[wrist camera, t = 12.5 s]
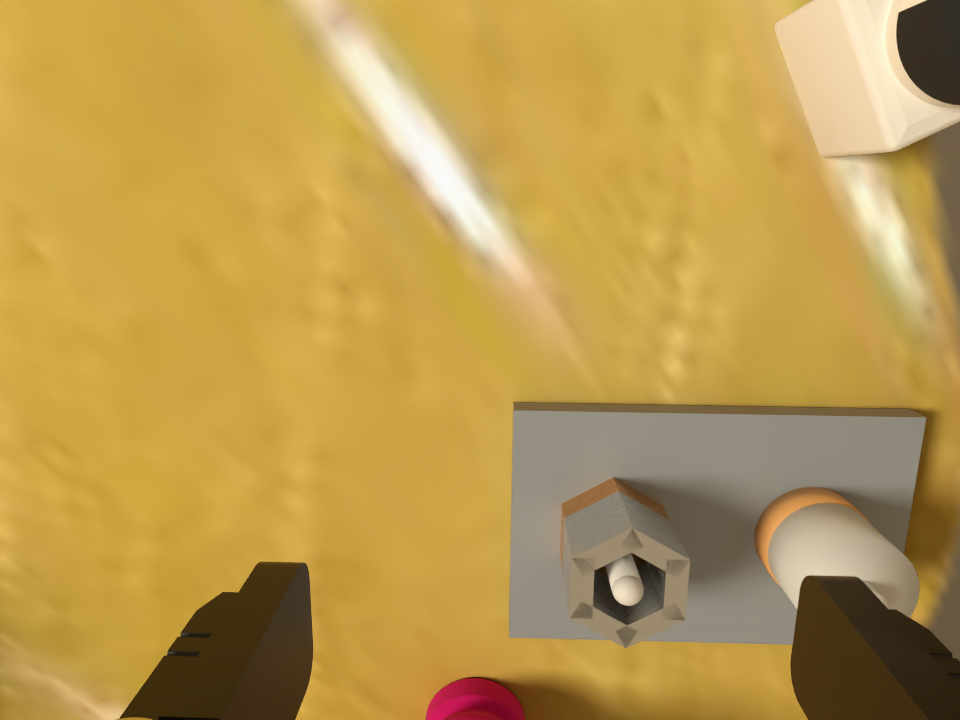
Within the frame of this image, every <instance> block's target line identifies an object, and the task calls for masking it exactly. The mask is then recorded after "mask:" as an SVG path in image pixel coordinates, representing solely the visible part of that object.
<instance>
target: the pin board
mask: <svg viewBox="0 0 960 720" xmlns="http://www.w3.org/2000/svg"><path fill="white" fill-rule="evenodd" d="M925 423H926V417H925V416H923V415H921V414H919V413H917V412H916V411H914V410H912V409H886V408H825V407H765V406H705V405H644V404H584V403H523V402H514V406H513V455H512V504H511V552H510V601H509V638H548V639H588V640H609V639H608V638H606V637H604V636H602V635H600V634H598V633H596V632H595V631H593V630H591V629H589V628H587V627H585V626H583V625H582V624H580V623H578V622H576V621H574V620H572V619H570V617H569V611H568V604H567V598H566V592H565V586H564V579H563V573H562V567H561V560H560V536H561V505H562V503H564V502H566V501H568V500H570V499H572V498H574V497H576V496H578V495H580V494H582V493H583V492H585V491H587V490H589V489H591V488H593V487H595V486H597V485H599V484H601V483H603V482H605V481H607V480H609V479H611V478H615V479H617V480H619V481H621V482H622V483H624V484H626V485H628V486H629V487H631V488H633V489H635V490H636V491H638V492H640V493H642V494H644V495H645V496H647V497H649V498H651V499H652V500H654V501H656V502H658V503H660V504H661V505H663V507H664V509H665V511H666V513H667V515H668V517H669V519H670V521H671V523H672V525H673V527H674V529H675V531H676V533H677V535H678V537H679V539H680V541H681V543H682V545H683V547H684V549H685V551H686V553H687V555H688V557H689V559H690V569H689V581H688V594H687V606H686V619H685V621H683V622H681V623H679V624H676V625H674V626H672V627H670V628H668V629H666V630H664V631H662V632H659V633H657V634H655V635H653V636H651V637H649V638H647V639H644V640H642V641H668V642H708V643H748V644H788V645H793V639H794V631H795V623H796V615H797V608H798V600H799V592H800V587H801V583H802V581H803V579H804V578H805V577H806V576H809V575H817V576H855V577H858V578H860V579H861V580H862V581H863V582H864V583H865V584H866V585H867V586H868V587H869V589H870V590H871V591H872V592H873V593H874V594H875V595H876V596H877V597H878V598H879V599H880V601H881V602H882V603H883V604H884V605H885V606H886V607H887V608H888V609H896V610H898V611H899V612H901V613H903V614H904V615H906V616H907V617H909V618H910V616H911V615H912V613H913V611H914V609H915V607H916V604H917V601H918V597H919V580H918V575H917V573H916V570H915V568H914V566H913V565H912V563H911V562H910V561H909V559H908V558H907V557H906V556H905V555H904V550H905V544H906V538H907V532H908V526H909V520H910V514H911V508H912V502H913V496H914V490H915V484H916V478H917V472H918V465H919V459H920V453H921V447H922V441H923V435H924V429H925ZM605 567H606V571H607V575H608V578H609V582H610V586H611V589H612V593H613V596H614V598H615V599H616V600H617V601H618V602H619V603H620V604H622V605H626V606H632V605H635V604H637V603H638V602H639V601H640V600H641V599H642V597H643V593H644V588H643V584H642V581H641V579H640V576H639V573H638V570H637V567H636V564H635V562H634V559H633V556H632V553H629V554H627V555H625V556H623V557H621V558H619V559H617V560H615V561H613V562H611V563H609V564H607V565H605Z"/></svg>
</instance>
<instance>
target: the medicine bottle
mask: <svg viewBox="0 0 960 720" xmlns="http://www.w3.org/2000/svg"><path fill="white" fill-rule="evenodd" d="M774 30H775V34H776V36H777V39H778V42H779V45H780V48H781V50H782V53H783V56H784V59H785V61H786V64H787V67H788V70H789V72H790V75H791V78H792V81H793V84H794V86H795V89H796V92H797V95H798V97H799V100H800V103H801V106H802V108H803V111H804V114H805V117H806V120H807V122H808V125H809V128H810V131H811V133H812V136H813V139H814V142H815V144H816V147H817V150H818V153H819V154H820V156H822V157H825V158H827V157H838V156H850V155H861V154H873V153H884V152H894V151H898V150H900V149H902V148H904V147H906V146H908V145H911V144H913V143H915V142H917V141H919V140H921V139H923V138H926V137H928V136H930V135H932V134H934V133H936V132H938V131H941V130H943V129H945V128H947V127H949V126H951V125H953V124H956V123H958V122H960V0H812V1H810V2H809V3H807V4H805V5H804V6H802V7H800V8H799V9H797V10H795V11H794V12H792V13H790V14H789V15H787V16H785V17H784V18H782V19H780V20H779V21H778V22H777V23H776V25H775V27H774Z"/></svg>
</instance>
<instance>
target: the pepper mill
mask: <svg viewBox="0 0 960 720" xmlns="http://www.w3.org/2000/svg"><path fill="white" fill-rule="evenodd" d="M426 720H525V716H524V712H523V709H522V706H521V704H520V702H519V701H518V699H517V698H516V697H515V696H514V694H513V693H511V692H510V691H509V690H508V689H506V688H505V687H504V686H502V685H500V684H498V683H496V682H494V681H490V680H485V679H481V678H470V679H461V680H458V681H455V682H452V683H450V684H449V685H447V686H445V687H444V688H442V689H441V690H440V691H439V692H438V693H437V694H436V695H435V696H434V698H433V699H432V700H431V702H430V705H429V707H428V709H427V714H426Z"/></svg>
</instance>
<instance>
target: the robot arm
mask: <svg viewBox="0 0 960 720" xmlns="http://www.w3.org/2000/svg"><path fill="white" fill-rule="evenodd" d="M312 660H313V636H312V617H311V599H310V580H309V571H308V567H307V565H306V563H294V562H259V563H258V564H257V565H256V566H255V568H254V569H253V571H252V572H251V574H250V575H249V577H248V579H247V580H246V582H245V583H244V585H243V586H242V588H241V589H240V591H239V592H238V593H236V592H222V593H221V594H220V595H218V596H217V597H215V598H214V599H212V600H211V601H210V602H208V603H207V604H205V605H204V606H203V607H201V608H200V609H198V610H197V611H196V612H195V614H194V615H193V616H192V618H191V619H190V621H189V622H188V623H187V625H186V626H185V628H184V629H183V630H182V632H181V636H180V637H177V639H176V640H175V641H174V643H173V644H172V646H171V647H170V648H169V650H168V654H167V656H164V657H163V658H162V660H161V661H160V662H159V664H158V665H157V667H156V668H155V669H154V671H153V672H152V674H151V675H150V676H149V678H148V679H147V681H146V682H145V683H144V685H143V686H142V688H141V689H140V690H139V692H138V693H137V695H136V696H135V697H134V699H133V700H132V701H131V703H130V704H129V706H128V707H127V708H126V710H125V711H124V713H123V714H122V715H121V717H120V718H119V719H117V720H295V719H296V716H297V714H298V711H299V708H300V706H301V703H302V701H303V698H304V695H305V693H306V690H307V687H308V684H309V680H310V675H311V669H312ZM791 678H792V684H793V688H794V692H795V695H796V698H797V700H798V702H799V704H800V706H801V708H802V710H803V711H804V713H805V715H806V717H807V718H808V720H960V661H959V660H958V659H955V658H953V657H952V653H951V652H950V651H949V650H948V649H947V648H946V647H945V646H944V645H943V644H942V643H941V642H940V641H939V640H938V639H937V638H936V637H935V635H934V634H933V633H932V632H931V631H930V630H928V629H927V628H925V627H924V626H922V625H920V624H919V623H917V622H916V621H914V620H912V619H911V618H909V617H907V616H906V615H904V614H903V613H901V612H899V611H898V610H896V609H888V608H887V607H886V606H885V605H884V604H883V603H882V602H881V601H880V599H879V598H878V597H877V596H876V595H875V594H874V593H873V592H872V591H871V590H870V589H869V587H868V586H867V585H866V584H865V583H864V582H863V581H862V580H861V579H860V578H858V577H855V576H817V575H809V576H806V577H805V578H804V579H803V581H802V583H801V587H800V592H799V600H798V608H797V615H796V623H795V631H794V639H793V646H792V654H791Z"/></svg>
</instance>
